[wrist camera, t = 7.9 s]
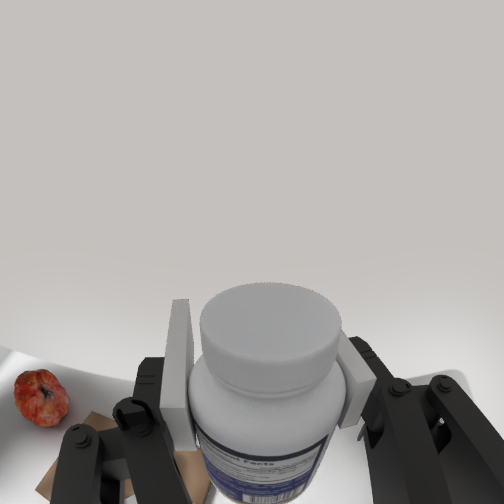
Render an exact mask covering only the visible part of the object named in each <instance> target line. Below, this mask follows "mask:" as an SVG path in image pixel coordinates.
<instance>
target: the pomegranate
mask: <svg viewBox="0 0 504 504" xmlns="http://www.w3.org/2000/svg"><path fill="white" fill-rule="evenodd" d="M14 386H15V389H14V395H15V399H16V401H15V402H16V406H17V408H18V409H19V411H20V412H21V413H22V415H23V416H24V417H25V418H27V419H28V420H30V421H33V422H34V424H35V425H38V426H43V427H52V426H54V425H57V424H58V423H59V421H60V419H61V418H62V417H63V416H65V415H66V414H67V413H68V411H69V401H70V400H69V397H68V395H67V393H66V391H65V389H64V388H63V387H62V386H61V385H60V383H59V382H58V380H57V378H56V377H55V376H54V375H53V374H52V373H51V372H49V371H48V370H45V369H39V370H37V371H25V372H24V373H22V374H20V375H19V376H18V378H17V379H16V381H15V384H14Z"/></svg>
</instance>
